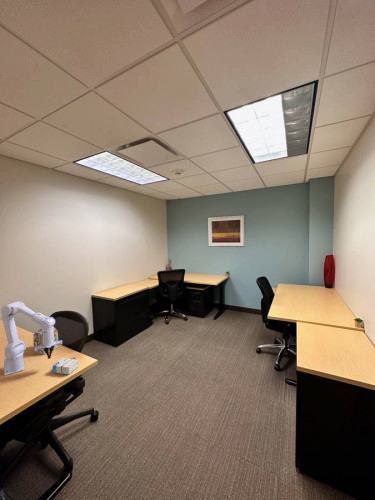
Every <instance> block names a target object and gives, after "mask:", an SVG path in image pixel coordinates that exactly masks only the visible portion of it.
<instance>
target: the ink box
mask: <svg viewBox="0 0 375 500" xmlns="http://www.w3.org/2000/svg"><path fill="white" fill-rule="evenodd" d="M77 368H79V359H70V358H67V357H62V358H61V359H59V360H58V361H57V362H55V363H54V364H52V373H55V374H61V375H62V374H63V375H70V374H71V373H73V372H74V371H75V370H76V369H77Z"/></svg>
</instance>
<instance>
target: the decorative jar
mask: <svg viewBox="0 0 375 500" xmlns="http://www.w3.org/2000/svg"><path fill="white" fill-rule="evenodd" d="M32 339H33V340H32V342H33V343H32V345H33V353H36V354H40V355H47V354H46V353H45V352H44V348H43V349H39V350H37V351H35V347H36V346H39V345H42V344H43V331H42V329H41V328H39V329H37V330H36V331H35V332H34V334H33V337H32ZM54 341H59V332H58V329H57V328H56V327H54ZM58 348H59V345H55V346H54V349H53V351H54V350H56V349H58Z"/></svg>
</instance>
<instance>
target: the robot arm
mask: <svg viewBox="0 0 375 500" xmlns="http://www.w3.org/2000/svg"><path fill="white" fill-rule="evenodd" d="M0 313H1V314H0V315H1V319H2V324H3V327H4V332H5V337H6V341H7V344H6V346H5V348H4V357H5V359H4V361H3V372H4V373H3V375H4V376H8V375H12V374H16V373H19V372H22V371H24V370H25V366H26V364H25V363H24V354H25V351H26V349H27V347H26V344H25V343H24V340H21V339H20V338H19V335H18V334H19V333H18V329H17V326H16V322H15V318H14V317H15V316H16V314H22V315H24V316H26V317H28V318H30V319H31V321H32V322H33V323H35V324H37V325H39V327H40V329H42V331H43V344H42V345H39V346H36V347H35V351H37V350H39V349H43V348H44V352H45V353H46V354H45V355H46V356H47V360H49V359H51V357H52V353H53V351H54V350H55V349H54V346H55V345H58V346H59V345H63V340H62V339H61V340H58V341H54V326H55V325H56V319H55V318H54V317H53V316H46V315H45V314H42V312H35V311H34V310H32V309H30V308H29V307H27V306H26V304H25V302H22V301H20V300H17V301H15V302H11V303H9V304H4V305H3V306H2V307H1V308H0ZM53 349H54V350H53Z"/></svg>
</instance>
